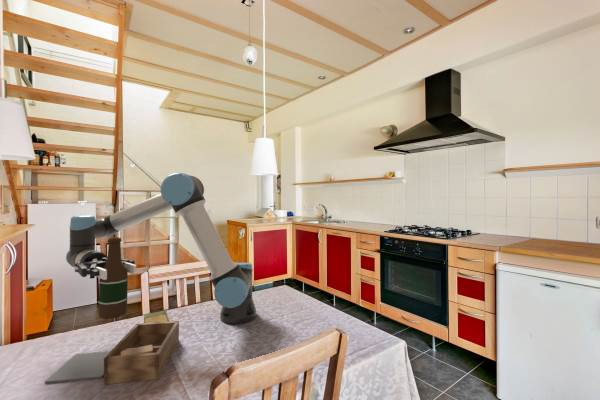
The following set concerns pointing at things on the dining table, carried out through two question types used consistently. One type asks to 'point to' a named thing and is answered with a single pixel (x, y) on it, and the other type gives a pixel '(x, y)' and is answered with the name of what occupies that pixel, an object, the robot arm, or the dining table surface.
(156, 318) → the carton
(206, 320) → the dining table surface
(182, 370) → the dining table surface
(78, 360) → the plate
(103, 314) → the beer bottle
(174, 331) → the wooden box
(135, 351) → the offcut upper
